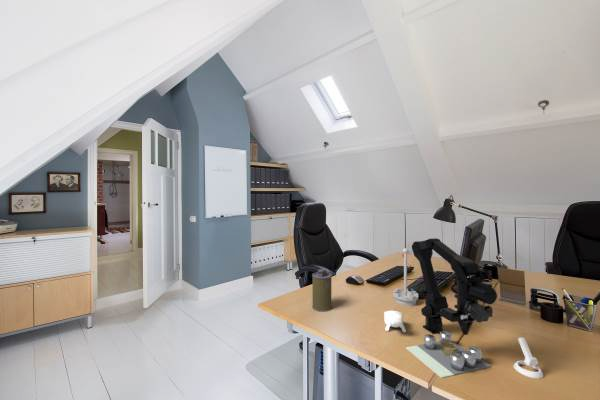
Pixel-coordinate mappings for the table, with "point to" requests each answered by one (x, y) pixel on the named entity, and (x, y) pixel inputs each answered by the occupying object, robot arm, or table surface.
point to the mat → (441, 360)
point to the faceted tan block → (448, 348)
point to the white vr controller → (527, 361)
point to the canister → (322, 290)
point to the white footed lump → (393, 320)
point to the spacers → (457, 360)
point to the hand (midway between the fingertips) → (465, 334)
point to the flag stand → (405, 288)
